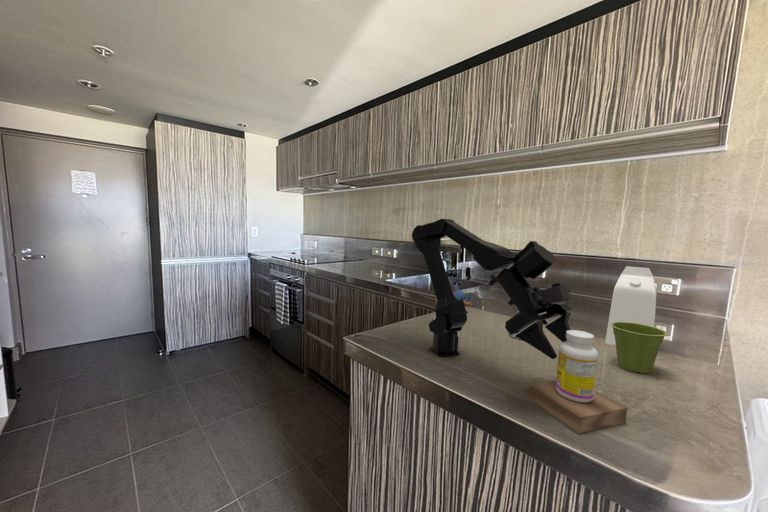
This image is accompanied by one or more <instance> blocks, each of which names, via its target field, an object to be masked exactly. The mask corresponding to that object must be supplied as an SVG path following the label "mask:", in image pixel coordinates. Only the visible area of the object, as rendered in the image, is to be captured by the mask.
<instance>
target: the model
mask: <svg viewBox="0 0 768 512" xmlns="http://www.w3.org/2000/svg"><path fill="white" fill-rule="evenodd" d="M458 287H459V286H458V285H457V284H454V285H453V289H454V290H453V291H452V292H453V295H454V297H455V298H456V299H457V300H463V302H464V305H465V307H468V306H474V304H473V303H472V298H473V297H472V296H473V293H472V292H466V294H465V292H464V291H463V290H461V289H459V288H458Z"/></svg>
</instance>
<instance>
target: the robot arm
mask: <svg viewBox="0 0 768 512" xmlns="http://www.w3.org/2000/svg"><path fill="white" fill-rule="evenodd" d="M445 237H447V238H449V239H450V240H452V241H453V242H454V243H456V244H457V245H459V246H460V247H462V248H463V249H465V250H466V251H468V252H469V254H471V255H472V257H473V259H474V261H475V262H476V263H477V264H478V265H479V266H480V267H481V268H482V269H484V270H485V271H488V272H490V271H499V272H498V273H497V274H491V275H490V280H489V287H493V286H494V287H495V286H500V287H501V289H502V290H503V291H504V293H505V295H506V296H507V297H508V299H509V300H508V301H507V304H508V305H509V306H510V307H513V306H514V307H515V309H516V310H517V312H518V311H519V313H516V314H515V315H513V316H512V317H510V318H509V319H508V320H506V321H505V324H504V325H505V326H504V329H505V330H506V332H507V333H508V334H509V335H508V336H509V337H511V335H514V334H517V333H518V334H517V335H515V337H516V338H515V339H517V338H520V339H519V340H521V341H523V342H525V343H527V344H528V345H530V346H532V347H533V348H535V349H536V350H537V351H538V352H539V351H540V353H542V354H544V355H545V356H547V357H548V358H550V359H552V360H555V359H557V358H558V355H557V353H556V350H555V349H554V347H553V346H552V344H551V342H550V341H549V339H548V338H547V335H546V333H545V332H544V331H543V330H544V329H543V328H545V329H547V330H548V332H550V333H551V334H552V335H554V336H555V337H556V338H557V339H558V340H560V341H561V342H562V343H563V342H567V339H566V331H568V330H571V328H570V324H569V319H570V316H571V311H572V308H571V307H570V306H569V304H568V303H566V302H565V301H569V300H572V298H571V295H570V293H571V292H572V288H570V287H568V284H565V283H563V282H562V281H559V282H556V283H552V284H551V287H550V288H549V287H548V288H544V289H541V288H540V287H539V286H533V285H532V284H531V283H530V282H529V281H528V279H532V280H536V279H537V278H538V277H540V276H541V275H542V274H544V273H545V272H546V271H548V270H549V269H550V268H551V267H553V266H555V264H557V258H556V257H555V256H554V254H553V253H552V252H551V251H550V250H549V249H547V248H546V247H544V246H543V245H541V244H539V243H538V242H537V241H535V240H530V241H529V242H528V243H527V244H526V245H525V247H524V248H523V249H521V250H520V251H519V252H518V253H512V252H511V250H510V249H509V248H508V247H504V246H502V245H499V244H496V243H493V242H489V241H486V240H484V239H482V238H481V237H479V236H477V235H476V234H474V233H472V231H469V230H468V229H466V228H464V227H463V226H462V225H460V224H459V223H457V222H455V220H453V219H450V218H439V219H438V220H435V221H432V222H429V223H425V224H423V225H421V224H419V225H416V226H415V227H414V228H413V230H412V232H411V239H412V241H413V243H414V245H415V248H416V249H417V250H418V251H419V253H421V254H422V256H423V258H424V260H425V264H426V268H427V270H428V274H429V278H430V281H431V284H432V285H431V286H432V287H433V288H432V289H433V291H434V293H435V298H436V304H435V305H436V306H435V309H434V312H435V318H434V319H433V320H432V321H430V323H428V328H429V331H430V333H433V336H432V346H429V349H430V350H432V352H434V354H436V355H437V356H439V357H449V356H458V355H460V352H459V351H458V349H459V335H458V334H459V333H458V332H461V331H462V329H463V327H464V326H465V325H466V322H467V321H468V315H467V314H468V313H469V312H468V311H467V308H465V305H464V302H463V300H457V299H456V298H455V297H454V295H453V292H454V291H453V289H452V286H451V283H450V281H449V276H448V273H447V271H446V267H445V264H444V261H443V259H442V258H443V257H442V254H441V251H440V249H441V245H442V244H441V243H442V239H443V238H445ZM544 325H546V326H545V327H544Z"/></svg>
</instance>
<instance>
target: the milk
mask: <svg viewBox="0 0 768 512" xmlns="http://www.w3.org/2000/svg"><path fill="white" fill-rule="evenodd" d="M656 307H657V286H656V281H655V277H654V276H653V274H652V272H651V269H650V268H649V267H640V266H639V267H638V266H629V265H628V266H625V267H624V269H623V271H622V272H621V274H620V276H619V278H618V280H617V282H616V284H615V286H614V288H613V292H612V298H611V304H610V310H609V316H608V324H607V327H606V328H607V329H606V334H605V335H606V336H605V339H604V340H605V341H604V343H605V344H607V345H612V346H616V343H615V335H614V332H613V327H612V326H611V323H613V322H630V323H638V324H643V325H648V326H652V327H656V326H655V325H656V310H657V309H656Z"/></svg>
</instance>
